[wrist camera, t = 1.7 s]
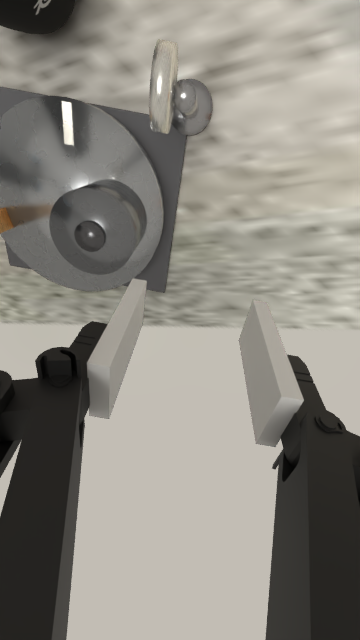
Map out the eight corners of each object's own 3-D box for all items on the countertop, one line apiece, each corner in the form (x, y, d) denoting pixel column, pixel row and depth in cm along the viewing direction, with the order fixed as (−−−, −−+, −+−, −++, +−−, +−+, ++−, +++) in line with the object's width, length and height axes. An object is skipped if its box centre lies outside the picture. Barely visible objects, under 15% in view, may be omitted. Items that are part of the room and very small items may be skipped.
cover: (79, 245, 29) (50, 269, 24) (76, 173, 25) (40, 181, 20) (144, 257, 29) (129, 283, 24) (150, 186, 26) (134, 199, 20)
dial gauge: (166, 133, 26) (142, 129, 16) (172, 73, 24) (148, 26, 14) (206, 141, 26) (206, 141, 17) (217, 82, 24) (224, 40, 14)
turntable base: (12, 263, 35) (2, 269, 33) (-24, 82, 25) (-41, 78, 24) (164, 290, 36) (162, 298, 34) (188, 122, 26) (187, 121, 24)
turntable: (10, 271, 33) (-22, 292, 29) (-30, 80, 23) (-87, 65, 19) (154, 297, 34) (146, 321, 29) (175, 118, 24) (168, 113, 19)
